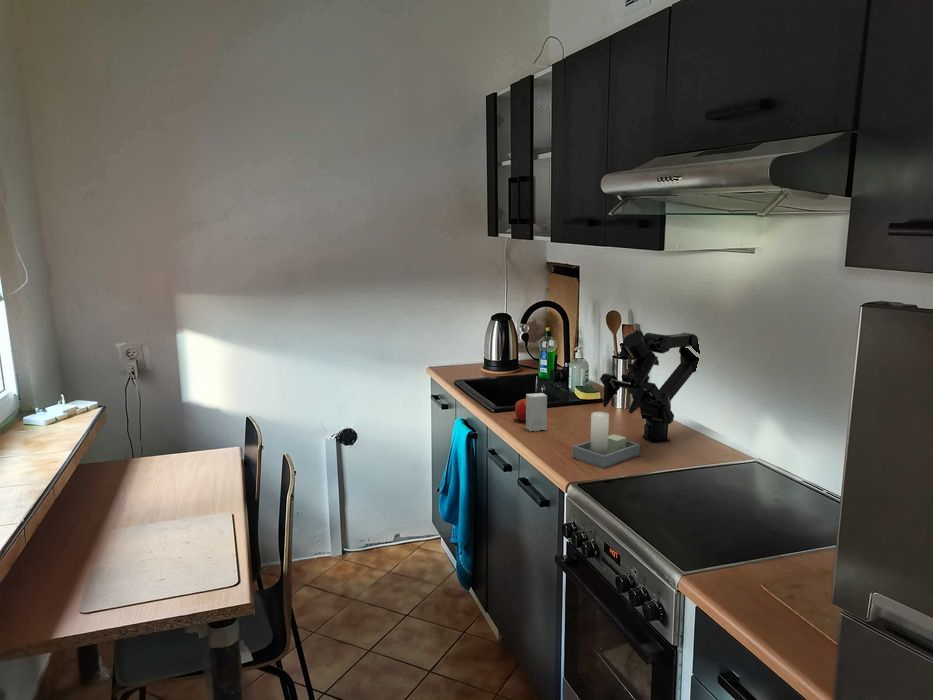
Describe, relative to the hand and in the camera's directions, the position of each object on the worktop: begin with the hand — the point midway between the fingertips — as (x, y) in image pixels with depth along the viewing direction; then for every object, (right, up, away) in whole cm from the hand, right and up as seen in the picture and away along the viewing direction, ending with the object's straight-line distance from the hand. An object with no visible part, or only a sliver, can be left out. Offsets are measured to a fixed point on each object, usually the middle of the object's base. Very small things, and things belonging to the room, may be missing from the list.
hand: (616, 409), depth 202 cm
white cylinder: (-6, -14, -2) cm, 15 cm away
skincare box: (-21, -9, +26) cm, 34 cm away
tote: (-3, -14, 0) cm, 14 cm away
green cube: (0, -13, +2) cm, 13 cm away
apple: (-24, -7, +35) cm, 43 cm away
